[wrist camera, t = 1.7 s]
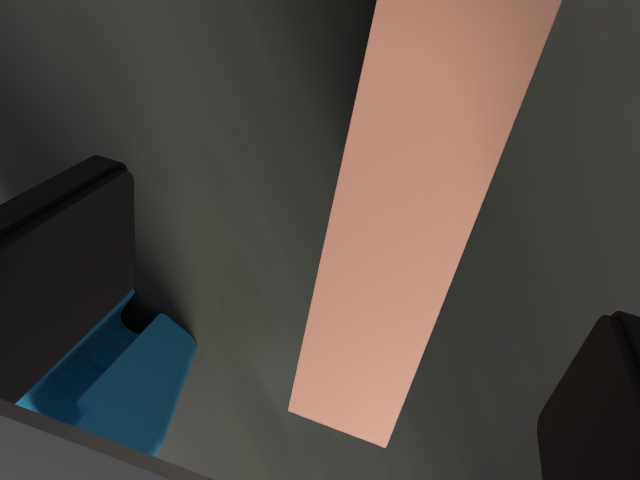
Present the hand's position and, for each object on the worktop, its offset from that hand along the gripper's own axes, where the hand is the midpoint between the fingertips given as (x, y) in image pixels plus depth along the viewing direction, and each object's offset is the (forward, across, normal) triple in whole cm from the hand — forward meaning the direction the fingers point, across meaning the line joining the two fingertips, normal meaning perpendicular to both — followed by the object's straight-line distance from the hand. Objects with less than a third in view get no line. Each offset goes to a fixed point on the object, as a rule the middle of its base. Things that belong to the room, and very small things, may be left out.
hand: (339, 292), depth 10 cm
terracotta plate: (+14, -1, 0) cm, 14 cm away
